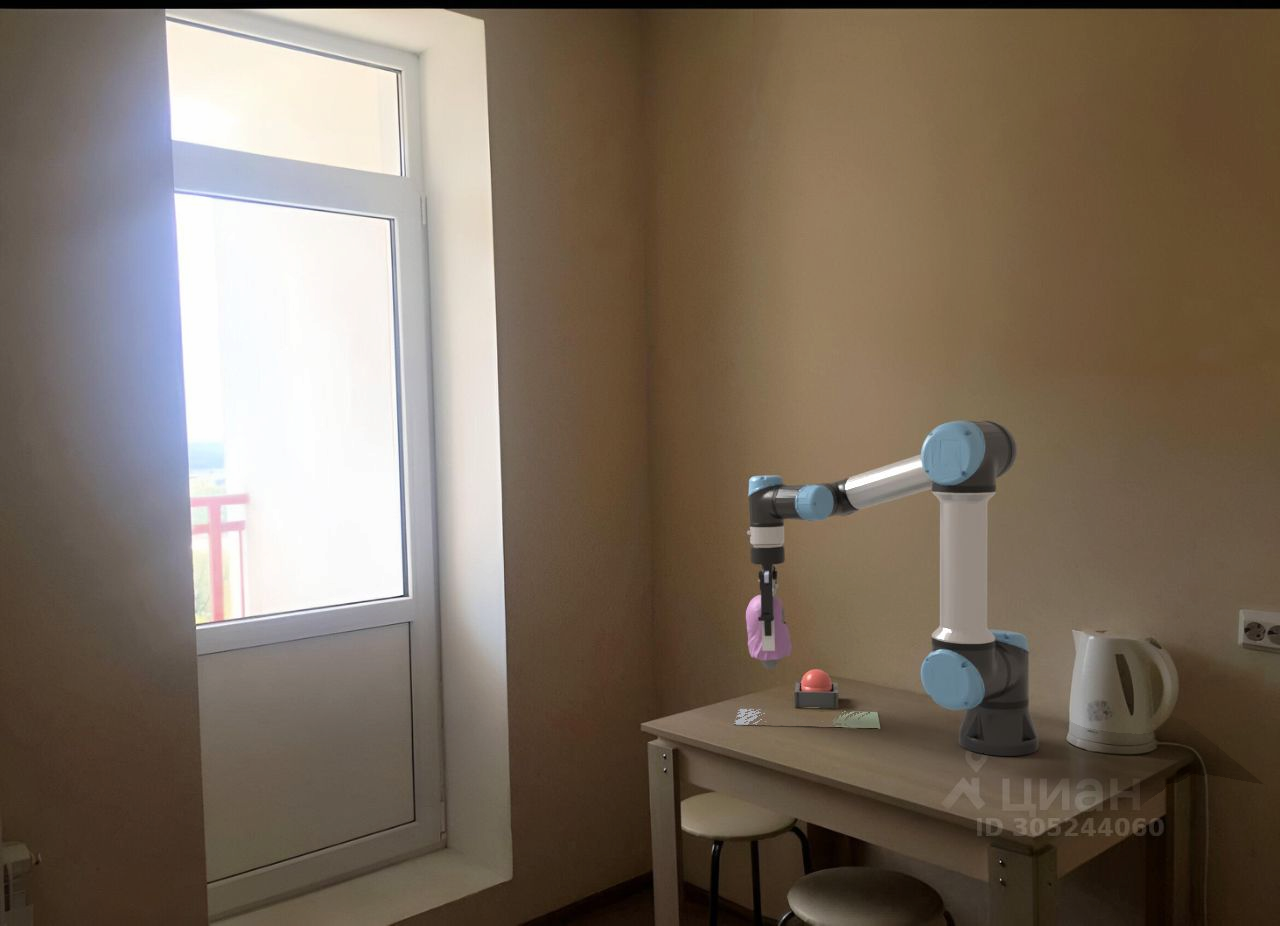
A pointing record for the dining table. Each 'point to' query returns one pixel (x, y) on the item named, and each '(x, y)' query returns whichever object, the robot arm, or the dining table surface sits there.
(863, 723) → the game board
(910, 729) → the dining table surface
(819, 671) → the dome button
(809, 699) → the dome housing
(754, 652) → the toy character
